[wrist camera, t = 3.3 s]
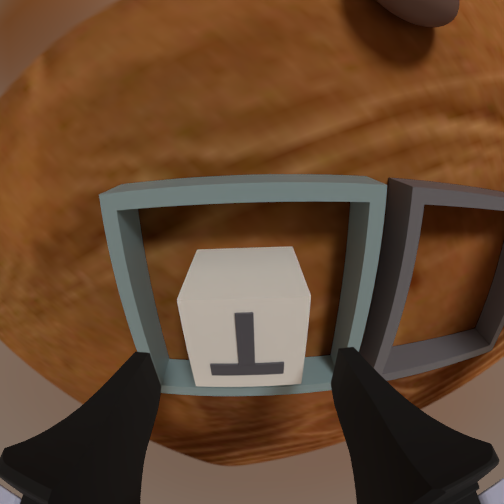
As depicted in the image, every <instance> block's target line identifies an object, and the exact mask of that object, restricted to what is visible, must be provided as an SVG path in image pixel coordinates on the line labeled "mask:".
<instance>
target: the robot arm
mask: <svg viewBox="0 0 504 504" xmlns="http://www.w3.org/2000/svg"><path fill="white" fill-rule="evenodd" d="M331 388H332V394H333V399H334V404H335V408H336V411H337V414H338V417H339V421H340V424H341V427H342V430H343V433H344V436H345V439H346V443H347V446H348V449H349V453H350V457H351V462H352V468H353V474H354V481H355V489H356V498H357V504H504V478H502V479H501V480H499V481H498V482H497V483H495V484H494V485H492V486H491V487H489V488H488V489H486V490H485V491H483V492H482V493H481V494H479V495H477V493H476V490H478V489H479V485H478V483H477V482H478V481H479V480H480V479H481V478H483V477H484V476H485V475H486V474H488V473H489V472H490V471H491V470H492V469H494V468H495V467H496V466H497V465H498V463H499V458H498V456H497V454H496V452H495V450H494V448H493V447H492V445H491V444H490V443H487V442H484V441H481V440H478V439H475V438H472V437H469V436H467V435H464V434H462V433H460V432H458V431H455V430H453V429H451V428H449V427H447V426H445V425H444V424H442V423H440V422H439V421H437V420H435V419H433V418H432V417H430V416H429V415H427V414H426V413H424V412H423V411H422V410H420V409H419V408H417V407H416V406H415V405H413V404H412V403H411V402H409V401H408V400H407V399H406V398H405V397H403V396H402V395H401V394H400V393H399V392H398V391H396V390H395V389H394V388H393V387H392V386H391V385H390V384H389V383H388V382H387V381H386V380H385V379H384V378H383V377H382V376H381V375H380V374H379V373H378V372H377V371H376V370H375V369H374V368H373V367H372V366H371V365H370V364H369V363H368V362H367V361H366V360H365V358H364V357H363V356H362V355H361V354H360V353H359V352H358V351H357V350H356V349H355V348H354V347H347V348H339V349H338V353H337V358H336V362H335V367H334V371H333V375H332V380H331ZM160 393H161V384H160V381H159V379H158V376H157V373H156V370H155V367H154V364H153V362H152V359H151V356H150V353H147V352H135V353H134V354H133V355H132V356H131V357H130V358H129V359H128V360H127V361H126V362H125V363H124V364H123V365H122V366H121V368H120V369H119V370H118V371H117V372H116V373H115V374H114V375H113V376H112V377H111V378H110V379H109V380H108V381H107V382H106V383H105V384H104V385H103V386H102V387H101V388H100V389H99V390H98V391H97V392H96V393H95V394H94V395H93V396H92V397H91V398H90V399H89V400H88V401H87V402H85V403H84V404H83V405H82V406H81V407H80V408H78V409H77V410H76V411H74V412H73V413H72V414H71V415H69V416H68V417H67V418H65V419H64V420H62V421H61V422H59V423H57V424H56V425H54V426H53V427H51V428H50V429H48V430H46V431H45V432H42V433H41V434H39V435H37V436H35V437H32V438H30V439H28V440H26V441H24V442H21V443H18V444H15V445H13V446H10V447H7V448H5V449H4V450H3V453H2V455H1V457H0V478H2V479H3V480H4V481H6V482H7V483H8V484H10V485H11V486H12V487H14V488H15V489H16V490H18V491H19V492H21V493H22V494H23V497H22V499H21V498H20V497H18V496H17V495H15V494H14V493H12V492H11V491H9V490H8V489H6V488H5V487H3V486H2V485H0V504H140V494H141V481H142V473H143V464H144V459H145V454H146V450H147V446H148V443H149V439H150V436H151V432H152V428H153V425H154V421H155V418H156V414H157V411H158V406H159V400H160Z"/></svg>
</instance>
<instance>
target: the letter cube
mask: <svg viewBox="0 0 504 504" xmlns="http://www.w3.org/2000/svg"><path fill="white" fill-rule="evenodd" d="M310 301H311V295H310V292H309V289H308V287H307V284H306V281H305V279H304V276H303V273H302V271H301V268H300V265H299V263H298V260H297V257H296V255H295V252H294V249H293V247H260V248H229V249H199V250H197V251H196V254H195V256H194V258H193V261H192V263H191V266H190V268H189V271H188V273H187V276H186V278H185V281H184V283H183V286H182V288H181V291H180V293H179V296H178V298H177V304H178V309H179V314H180V319H181V324H182V329H183V333H184V338H185V342H186V347H187V351H188V356H189V360H190V364H191V368H192V372H193V376H194V380H195V384H196V386H203V387H253V386H276V385H291V384H301V382H302V374H303V367H304V358H305V350H306V341H307V332H308V322H309V312H310Z"/></svg>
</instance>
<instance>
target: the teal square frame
mask: <svg viewBox="0 0 504 504" xmlns="http://www.w3.org/2000/svg"><path fill="white" fill-rule="evenodd" d="M386 195H387V185H386V184H384V183H381V182H379V181H377V180H374V179H372V178H369V177H366V176H351V175H319V174H263V175H231V176H211V177H195V178H181V179H169V180H158V181H148V182H138V183H129V184H121V185H119V186H117V187H115V188H112V189H110V190H108V191H106V192H104V193H102V194H99V198H100V204H101V211H102V217H103V223H104V228H105V233H106V239H107V244H108V248H109V253H110V258H111V262H112V266H113V271H114V275H115V279H116V283H117V287H118V290H119V294H120V298H121V301H122V305H123V308H124V312H125V315H126V318H127V322H128V325H129V328H130V331H131V334H132V337H133V340H134V343H135V346H136V349H137V352H147V353H150V356H151V359H152V362H153V364H154V367H155V370H156V373H157V376H158V379H159V381H160V384H161V393H169V394H182V395H201V396H264V395H283V394H297V393H308V392H318V391H327V390H332V388H331V380H332V375H333V371H334V367H335V362H336V358H337V353H338V349H339V348H347V347H354V348H355V349H356V350H357V351H358V352H359V350H360V346H361V342H362V338H363V334H364V330H365V326H366V322H367V317H368V313H369V308H370V304H371V299H372V294H373V289H374V283H375V278H376V272H377V267H378V260H379V254H380V247H381V240H382V233H383V225H384V216H385V206H386ZM306 201H323V202H350V214H349V226H348V237H347V247H346V257H345V266H344V274H343V282H342V289H341V296H340V303H339V309H338V316H337V322H336V327H335V333H334V339H333V344H332V349H331V354H330V355H326V356H316V357H305V358H304V367H303V374H302V382H301V384H291V385H276V386H253V387H203V386H196V384H195V380H194V376H193V372H192V368H191V364H190V360H178V359H169V356H168V352H167V349H166V345H165V342H164V338H163V334H162V330H161V326H160V322H159V318H158V314H157V310H156V305H155V301H154V297H153V292H152V287H151V283H150V278H149V273H148V268H147V262H146V257H145V251H144V245H143V239H142V233H141V227H140V220H139V213H138V209H140V208H152V207H166V206H182V205H200V204H221V203H248V202H306Z"/></svg>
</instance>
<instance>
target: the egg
mask: <svg viewBox="0 0 504 504" xmlns="http://www.w3.org/2000/svg"><path fill="white" fill-rule="evenodd" d="M376 1H377V2H378V3H380V4H381V5H382V6H383V7H384V8H385V9H387V10H388V11H390V12H391V13H392V14H394V15H396V16H397V17H399V18H401V19H403V20H405V21H407V22H410V23H412V24H415V25H419V26H424V27H440V26H444V25H446V24H448V23H450V22H451V21H452V20H453V19H454V18H455V17H456V15H457V13H458V9H459V0H376Z"/></svg>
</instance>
